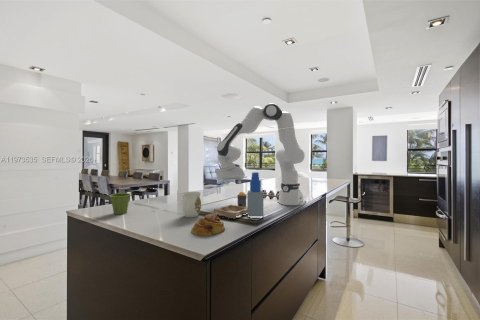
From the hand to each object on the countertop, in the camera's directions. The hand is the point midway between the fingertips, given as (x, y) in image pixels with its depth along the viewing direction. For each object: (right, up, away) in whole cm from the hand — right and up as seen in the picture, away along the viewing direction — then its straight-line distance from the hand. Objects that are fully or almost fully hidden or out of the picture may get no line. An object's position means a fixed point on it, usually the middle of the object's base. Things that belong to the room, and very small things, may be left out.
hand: (233, 183), depth 165 cm
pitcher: (-23, -16, -25) cm, 38 cm away
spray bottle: (+13, -16, -29) cm, 35 cm away
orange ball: (+5, -6, -11) cm, 14 cm away
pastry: (-10, -17, -52) cm, 56 cm away
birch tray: (0, -16, -24) cm, 29 cm away
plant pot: (-68, -16, -19) cm, 72 cm away
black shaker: (+5, -15, -11) cm, 19 cm away
